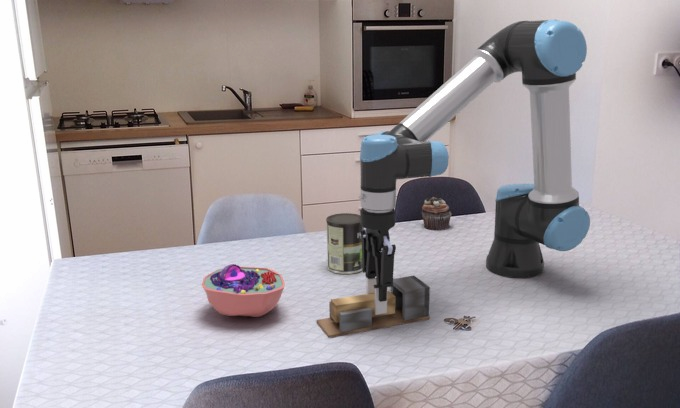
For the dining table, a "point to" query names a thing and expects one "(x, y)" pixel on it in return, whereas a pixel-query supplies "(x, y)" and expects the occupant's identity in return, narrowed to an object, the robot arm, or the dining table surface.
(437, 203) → the cupcake
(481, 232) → the dining table surface
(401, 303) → the cap board
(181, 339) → the dining table surface
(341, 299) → the brass rectangular bar
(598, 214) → the dining table surface
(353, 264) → the coffee can
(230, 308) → the cell model
